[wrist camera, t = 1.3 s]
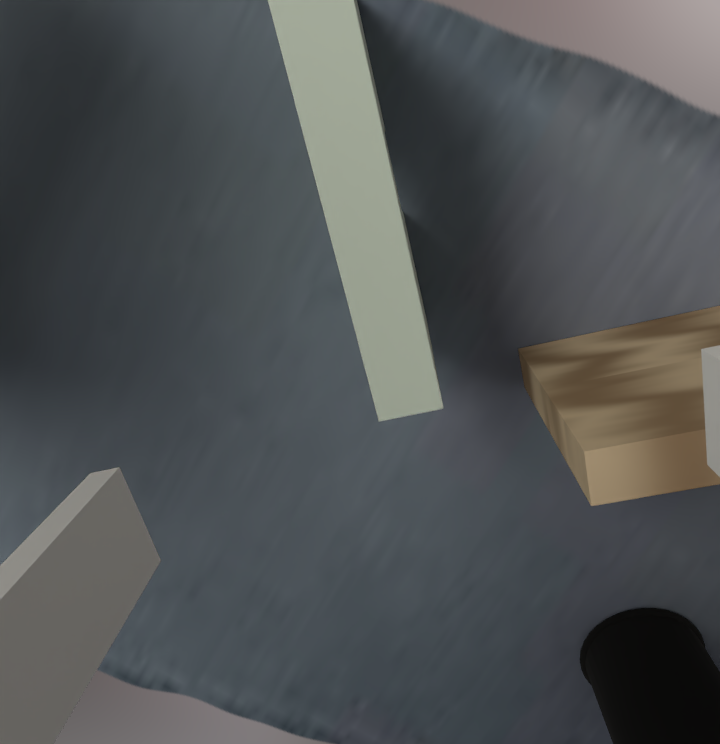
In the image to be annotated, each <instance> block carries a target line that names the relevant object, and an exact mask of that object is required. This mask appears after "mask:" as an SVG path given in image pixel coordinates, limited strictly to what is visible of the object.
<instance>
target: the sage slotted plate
mask: <svg viewBox="0 0 720 744" xmlns="http://www.w3.org/2000/svg"><path fill="white" fill-rule="evenodd" d="M268 3H269V7H270V10H271V14H272V18H273V22H274V25H275V29H276V33H277V37H278V41H279V44H280V48H281V52H282V56H283V60H284V63H285V67H286V71H287V75H288V79H289V82H290V86H291V90H292V94H293V98H294V101H295V105H296V109H297V113H298V116H299V120H300V124H301V128H302V132H303V135H304V139H305V143H306V147H307V151H308V154H309V158H310V162H311V166H312V170H313V173H314V177H315V181H316V185H317V188H318V192H319V196H320V200H321V204H322V207H323V211H324V215H325V219H326V223H327V226H328V230H329V234H330V238H331V242H332V245H333V249H334V253H335V257H336V260H337V264H338V268H339V272H340V276H341V279H342V283H343V287H344V291H345V295H346V298H347V302H348V306H349V310H350V314H351V317H352V321H353V325H354V329H355V332H356V336H357V340H358V344H359V348H360V351H361V355H362V359H363V363H364V367H365V370H366V374H367V378H368V382H369V386H370V389H371V393H372V397H373V401H374V404H375V408H376V412H377V416H378V420H379V421H384V420H389V419H394V418H399V417H404V416H409V415H414V414H419V413H424V412H429V411H434V410H439V409H443V403H442V398H441V393H440V388H439V382H438V377H437V372H436V367H435V361H434V356H433V351H432V345H431V340H430V335H429V330H428V324H427V319H426V315H425V310H424V305H423V301H422V296H421V292H420V287H419V283H418V278H417V273H416V269H415V264H414V260H413V255H412V250H411V246H410V241H409V237H408V232H407V228H406V223H405V218H404V214H403V212H402V210H401V205H400V201H399V196H398V192H397V187H396V182H395V178H394V173H393V169H392V164H391V160H390V155H389V150H388V146H387V141H386V137H385V132H386V131H385V127H384V122H383V118H382V113H381V108H380V104H379V99H378V95H377V90H376V85H375V81H374V76H373V72H372V67H371V63H370V58H369V53H368V49H367V44H366V40H365V35H364V30H363V26H362V21H361V17H360V12H359V8H358V3H357V0H268Z"/></svg>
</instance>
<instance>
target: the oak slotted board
mask: <svg viewBox="0 0 720 744" xmlns="http://www.w3.org/2000/svg"><path fill="white" fill-rule="evenodd" d="M718 345H720V306H716V307H711V308H707V309H702V310H697V311H693V312H688V313H683V314H678V315H674V316H669V317H664V318H660V319H655V320H650V321H646V322H641V323H636V324H632V325H627V326H622V327H618V328H613V329H608V330H603V331H599V332H594V333H589V334H585V335H580V336H575V337H571V338H566V339H561V340H557V341H552V342H547V343H543V344H538V345H533V346H528V347H524V348H519V349H518V351H519V357H520V363H521V369H522V375H523V381H524V387H525V389H526V391H527V393H528V394H529V396H530V398H531V400H532V401H533V403H534V405H535V407H536V409H537V410H538V412H539V414H540V416H541V417H542V419H543V421H544V423H545V425H546V426H547V428H548V430H549V432H550V434H551V435H552V437H553V439H554V441H555V442H556V444H557V446H558V448H559V450H560V451H561V453H562V455H563V457H564V458H565V460H566V462H567V464H568V466H569V467H570V469H571V471H572V473H573V474H574V476H575V478H576V480H577V482H578V483H579V485H580V487H581V489H582V491H583V492H584V494H585V496H586V498H587V499H588V501H589V503H590V505H591V506H596V505H601V504H607V503H613V502H619V501H625V500H630V499H636V498H642V497H648V496H654V495H659V494H665V493H671V492H677V491H683V490H688V489H694V488H700V487H706V486H712V485H717V484H720V477H719V476H718V475H717V474H716V473H715V472H714V471H713V470H712V469H711V468H710V467H709V466H708V465H707V451H706V432H705V412H704V393H703V374H702V355H701V349H704V348H709V347H714V346H718Z"/></svg>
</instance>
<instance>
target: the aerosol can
mask: <svg viewBox="0 0 720 744" xmlns="http://www.w3.org/2000/svg"><path fill="white" fill-rule="evenodd" d="M580 664H581V669H582V672H583V674H584V676H585V678H586V679H587V680H588V682H589V683H590V684H591V685H592V688H593V690H594V693H595V696H596V699H597V701H598V704H599V707H600V709H601V712H602V715H603V717H604V720H605V723H606V725H607V728H608V731H609V733H610V736H611V739H612V742H613V744H720V672H719V670H718V668H717V667H716V665H715V664H714V662H713V661H712V659H711V657H710V656H709V654H708V653H707V651H706V649H705V644H704V641H703V638H702V636H701V634H700V632H699V631H698V630H697V628H696V627H695V626H694V625H693V624H692V623H691V622H690V621H688V620H687V619H686V618H684V617H682V616H680V615H679V614H676V613H673V612H670V611H667V610H662V609H656V608H641V609H634V610H628V611H625V612H622V613H618V614H616V615H614V616H612V617H610V618H608V619H606V620H605V621H603V622H602V623H600V624H599V625H597V626H596V627H595V628H594V629H593V630H592V631H591V632H590V633H589V635H588V636H587V638H586V639H585V641H584V643H583V646H582V649H581V654H580Z"/></svg>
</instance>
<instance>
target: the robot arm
mask: <svg viewBox="0 0 720 744" xmlns="http://www.w3.org/2000/svg"><path fill="white" fill-rule="evenodd" d="M701 355H702V374H703V393H704V412H705V432H706V451H707V465H708V466H709V467H710V468H711V469H712V470H713V471H714V472H715V473H716V474H717V475H718V476H719V477H720V345H718V346H714V347H709V348H704V349H701ZM160 562H161V559H160V557H159V555H158V553H157V550H156V548H155V546H154V544H153V541H152V539H151V537H150V535H149V532H148V530H147V528H146V526H145V523H144V521H143V519H142V517H141V514H140V512H139V510H138V508H137V505H136V503H135V501H134V499H133V496H132V494H131V492H130V490H129V487H128V485H127V483H126V481H125V478H124V476H123V474H122V472H121V469H120V467H118V468H113V469H108V470H103V471H98V472H93V473H90V474H89V475H88V476H87V477H86V478H85V479H84V480H83V481H82V482H81V483H80V484H79V485H78V486H77V487H76V488H75V489H74V490H73V491H72V492H71V494H70V495H69V496H68V497H67V498H66V499H65V500H64V501H63V502H62V503H61V504H60V505H59V506H58V507H57V508H56V509H55V510H54V511H53V512H52V513H51V514H50V515H49V516H48V517H47V518H46V519H45V520H44V521H43V522H42V523H41V524H40V525H39V526H38V527H37V528H36V529H35V530H34V532H33V533H32V534H31V535H30V536H29V537H28V538H27V539H26V540H25V541H24V542H23V543H22V544H21V545H20V546H19V547H18V548H17V549H16V550H15V551H14V552H13V553H12V554H11V555H10V556H9V557H8V558H7V559H6V560H5V561H4V562H3V563H2V564H1V565H0V744H54V742H55V741H56V739H57V737H58V735H59V734H60V732H61V730H62V729H63V727H64V725H65V723H66V722H67V720H68V718H69V717H70V715H71V713H72V712H73V710H74V708H75V706H76V705H77V703H78V701H79V700H80V698H81V696H82V695H83V693H84V691H85V689H86V688H87V686H88V684H89V683H90V681H91V679H92V677H93V676H94V674H95V672H96V671H97V669H98V667H99V666H100V664H101V662H102V660H103V659H104V657H105V655H106V654H107V652H108V650H109V649H110V647H111V645H112V643H113V642H114V640H115V638H116V637H117V635H118V633H119V631H120V630H121V628H122V626H123V625H124V623H125V621H126V620H127V618H128V616H129V614H130V613H131V611H132V609H133V608H134V606H135V604H136V602H137V601H138V599H139V597H140V596H141V594H142V592H143V591H144V589H145V587H146V585H147V584H148V582H149V580H150V579H151V577H152V575H153V573H154V572H155V570H156V568H157V567H158V565H159V563H160Z"/></svg>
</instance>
